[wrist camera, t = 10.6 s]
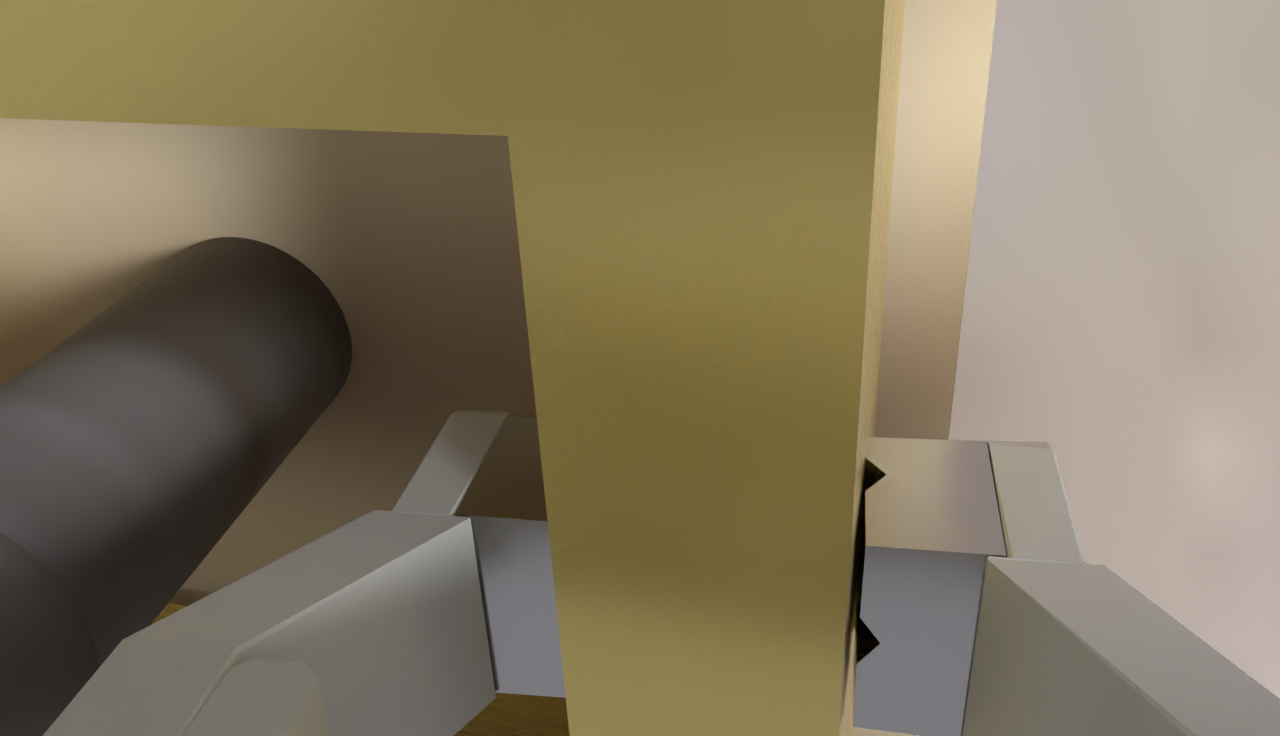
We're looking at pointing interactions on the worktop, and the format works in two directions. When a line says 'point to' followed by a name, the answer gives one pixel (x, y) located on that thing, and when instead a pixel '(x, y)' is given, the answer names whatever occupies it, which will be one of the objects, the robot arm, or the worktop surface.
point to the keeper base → (436, 267)
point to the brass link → (612, 293)
